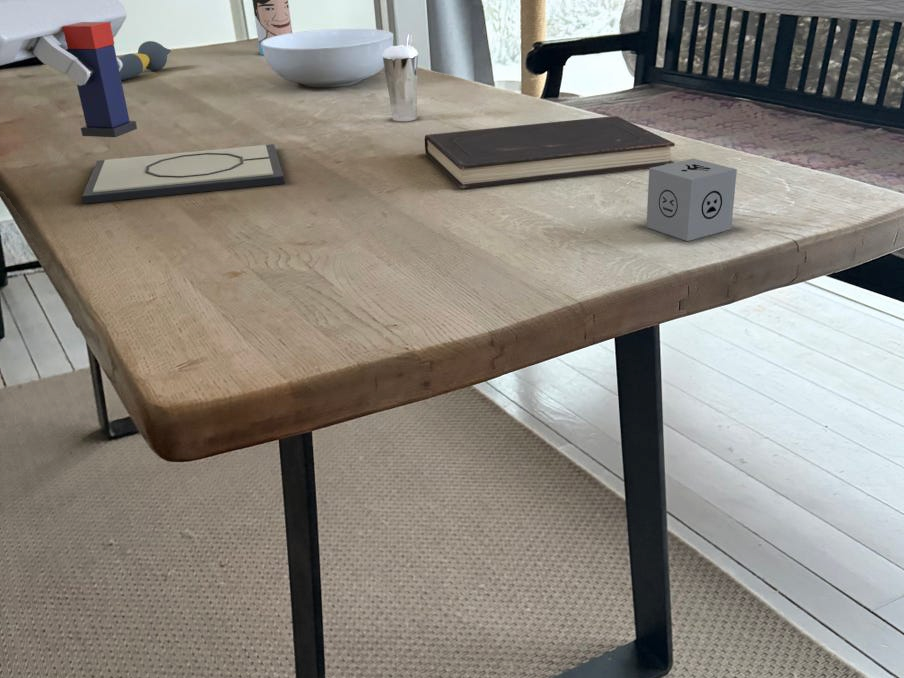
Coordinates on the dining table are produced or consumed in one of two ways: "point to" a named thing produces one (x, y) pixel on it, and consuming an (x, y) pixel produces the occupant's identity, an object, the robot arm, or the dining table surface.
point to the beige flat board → (183, 173)
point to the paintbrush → (144, 60)
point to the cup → (271, 19)
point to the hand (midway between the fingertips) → (102, 75)
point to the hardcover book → (545, 151)
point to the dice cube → (690, 198)
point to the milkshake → (402, 80)
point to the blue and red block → (99, 80)
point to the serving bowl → (327, 55)
